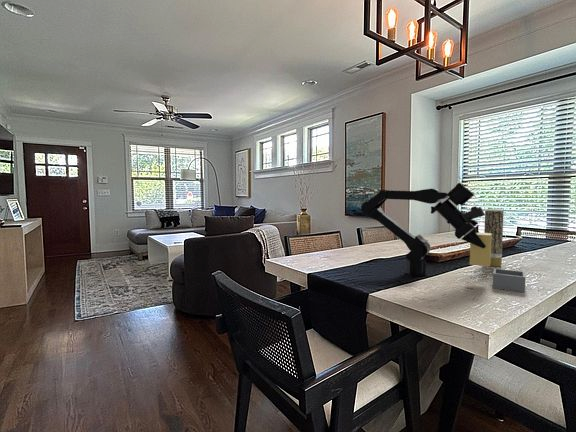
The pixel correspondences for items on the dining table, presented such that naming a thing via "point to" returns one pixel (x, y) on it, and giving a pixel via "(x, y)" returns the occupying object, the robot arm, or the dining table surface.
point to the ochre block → (481, 251)
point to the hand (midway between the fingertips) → (485, 246)
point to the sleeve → (509, 280)
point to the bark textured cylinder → (495, 234)
